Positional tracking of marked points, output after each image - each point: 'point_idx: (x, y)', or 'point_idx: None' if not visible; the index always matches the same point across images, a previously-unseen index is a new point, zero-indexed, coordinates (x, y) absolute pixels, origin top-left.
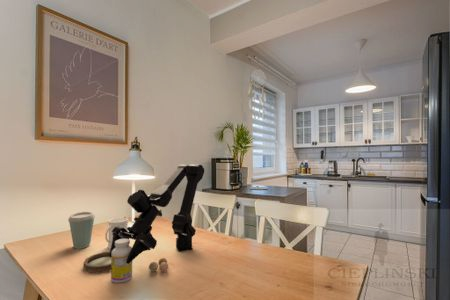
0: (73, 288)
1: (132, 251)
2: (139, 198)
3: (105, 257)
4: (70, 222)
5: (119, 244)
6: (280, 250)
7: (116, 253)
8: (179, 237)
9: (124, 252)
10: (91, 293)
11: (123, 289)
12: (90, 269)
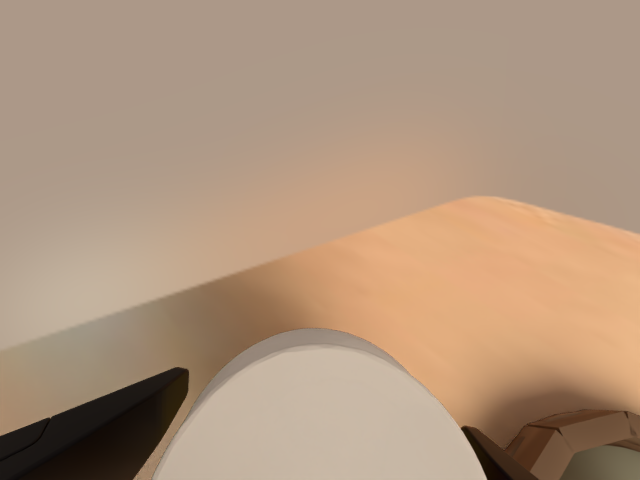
0: (450, 254)
1: (46, 419)
2: None
3: None
4: None
5: (266, 356)
6: None
7: (293, 333)
8: None
9: (204, 394)
10: (338, 253)
11: (214, 333)
12: (580, 414)
